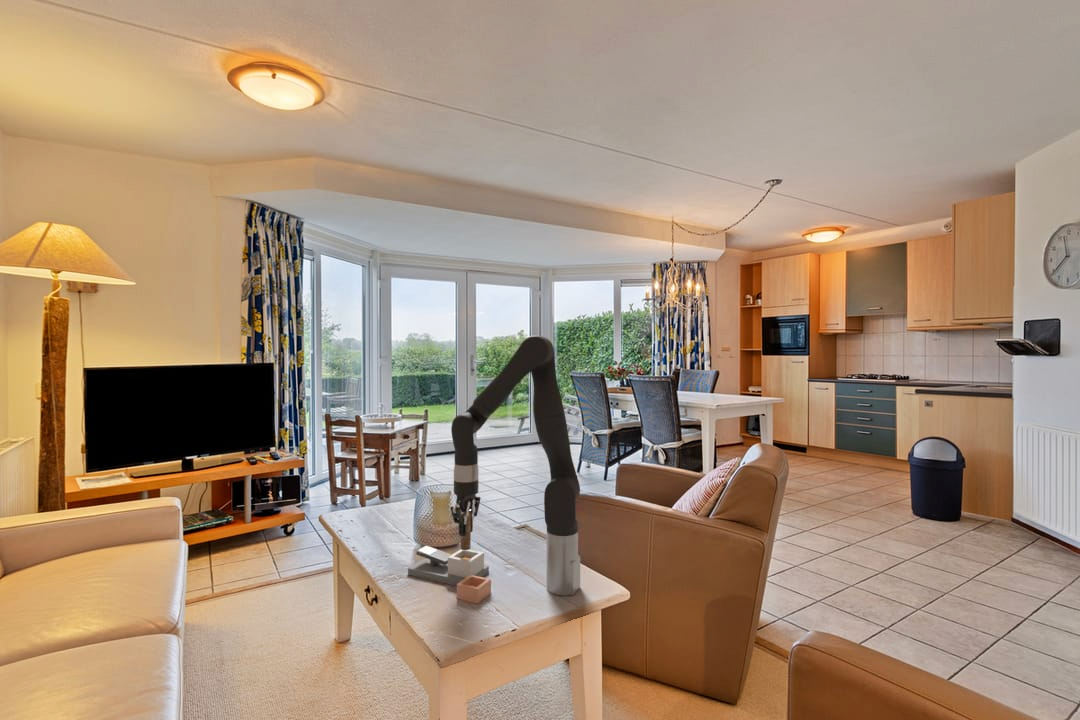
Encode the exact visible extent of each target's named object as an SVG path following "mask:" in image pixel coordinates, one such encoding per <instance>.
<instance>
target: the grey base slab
mask: <svg viewBox="0 0 1080 720" xmlns="http://www.w3.org/2000/svg"><path fill="white" fill-rule="evenodd" d="M465 557H469V558H471V559H469V560H467V559H462V558H465ZM489 569H490V567H489V565H485V552H484V551H478V550H474V549H469V550H461V548H459V550H457V551H456V552H454V553H453V554H451V556H449V557H448V564H446V565H443V564H440V563H438V562H435V561H432V560H430V559H427V558H425V557H423V558H422V559H420V560H419V561H418V562H416V563H415V564H412V565H411V566H409V567H408V568H407V575H409V576H413V577H416V578H422V579H426V580H431V581H434V582H439V583H443V584H447V585H451V586H456V587H457V584H458V583H460V582H461V581H462V580H464V579H465V578H466V577H468V576H469V575H474V576H479V577H485V576H486V575H488V574H489V572H490V571H489Z"/></svg>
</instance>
